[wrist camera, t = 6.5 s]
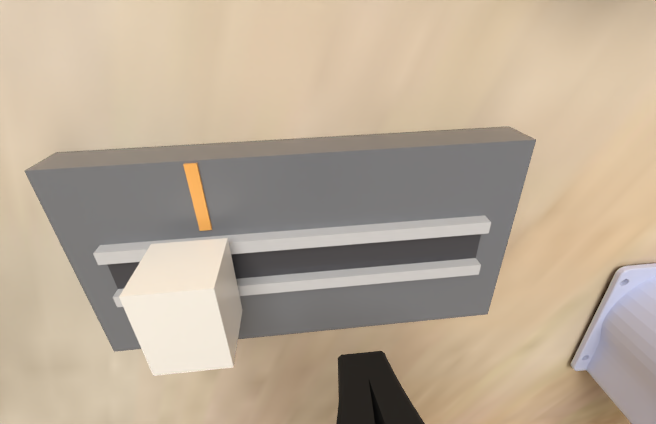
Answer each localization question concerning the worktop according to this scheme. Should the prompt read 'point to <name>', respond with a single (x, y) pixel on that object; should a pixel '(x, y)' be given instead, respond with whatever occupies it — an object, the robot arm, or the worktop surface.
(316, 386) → the worktop surface
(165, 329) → the fader tab
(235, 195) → the fader console
